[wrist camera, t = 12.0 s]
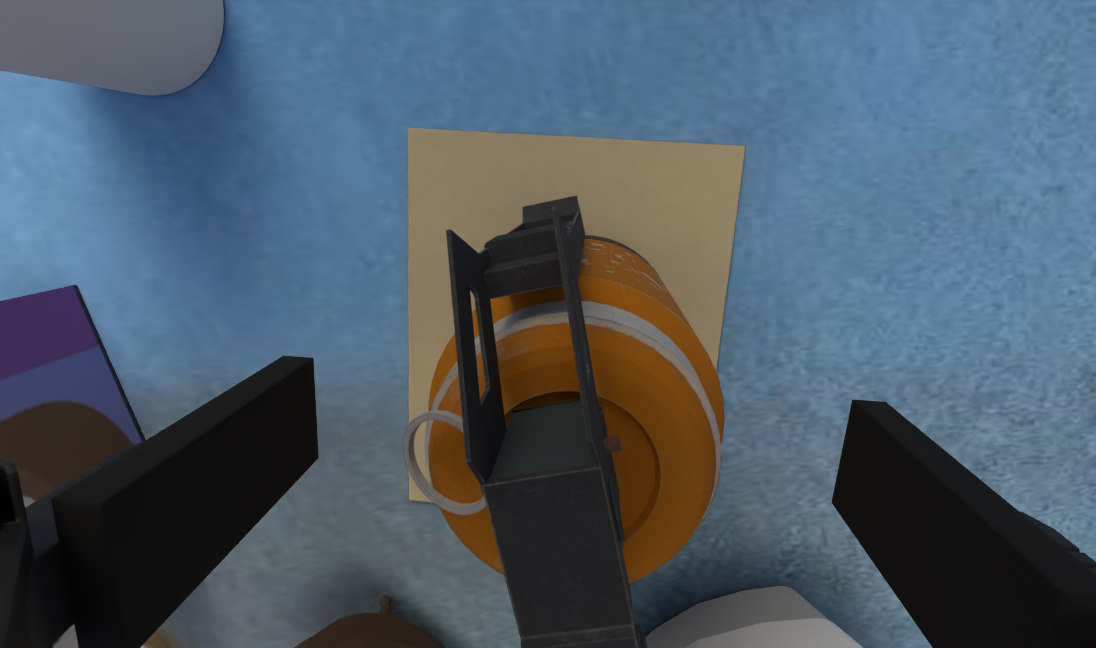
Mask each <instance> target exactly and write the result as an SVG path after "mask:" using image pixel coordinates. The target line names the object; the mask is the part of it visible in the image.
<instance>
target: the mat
mask: <svg viewBox="0 0 1096 648" xmlns="http://www.w3.org/2000/svg"><path fill="white" fill-rule="evenodd" d="M745 148H746V146H739V145H720V144H701V143H682V142H663V141H644V140H625V139H606V138H587V137H568V136H549V135H530V134H511V133H492V132H473V131H454V130H435V129H416V128H408V346H409V424H410V422H411V421H412V420H413V419H415V418H416V417H418V416H420V415H422V414H423V413H425V412H428V402H429V395H430V388H431V382H432V379H433V376H434V372H435V369H436V366H437V363H438V361H439V359H440V357H441V355H442V353H443V351H444V349H445V347H446V345H447V343H448V342H449V340H450V339H451V338H452V336H453V335H454V334H455V329H454V318H453V306H452V295H451V283H450V271H449V260H448V248H447V237H446V230H449V229H451V230H452V231H453V232H454V233H456V234H457V235H458V236H459V237H460V238H461V239H463V240H464V241H465V242H466V243H467V244H468V245H470V246H471V247H472V248H473V249H474V250H475V251H477V252H478V253H479V252H480V251H482V250H483V249H484V244H485V243H486V242H488V241H489V240H491V239H493V238H494V237H496V236H499V235H503V234H507V233H509V232H510V231H512V230H513V229H514V228H516V227H517V226H519V225H520V224H522V207H524V206H529V205H534V204H538V203H543V202H548V201H552V200H557V199H562V198H567V197H571V196H576V195H577V198H578V203H579V207H580V212H581V216H582V221H583V225H584V230H585V235H594V236H599V237H604V238H608V239H611V240H614V241H617V242H619V243H622V244H624V245H625V246H627V247H629V248H631V249H632V250H634V251H636V252H637V253H638V254H639V255H641V256H642V257H643V258H644V259H646V261H647V262H648V263H649V264H650V265H651V266H652V267H653V268H654V269H655V270H656V272H657V274H658V275H659V277H660V278H661V280H662V281H663V283H664V284H665V286H666V288H667V289H668V291H669V292H670V294H671V296H672V297H673V299H674V300H675V302H676V304H677V305H678V307H679V308H680V310H681V311H682V313H683V315H684V316H685V318H686V319H687V321H688V323H689V324H690V326H691V327H692V329H693V331H694V332H695V334H696V335H697V337H698V339H699V340H700V342H701V343H702V345H703V346H704V348H705V350H706V351H707V353H708V354H709V357H710V359H711V361H712V364H713V366H714V368H715V371H716V368H717V361H718V353H719V346H720V338H721V330H722V323H723V315H724V308H725V300H726V292H727V285H728V277H729V269H730V262H731V254H732V247H733V239H734V231H735V224H736V216H737V209H738V201H739V193H740V186H741V178H742V170H743V163H744V155H745ZM470 294H471V305H472V312H473V311H474V310H475V309H476V308H475V300H474V296H473V294H472V292H471V291H470ZM426 428H427V421H425V422H423V423H422V424H421V425H420V426H419V427H418V429H417V431H416V434H415V438H414V453H415V457H416V461H417V463H418V466H419V468H420V470H421V472H422V474H423V475H424V477H425V478H426V480H427V481H428V482H429V478H428V473H427V467H426V462H425V434H426ZM429 484H430V482H429ZM409 500H414V501H425V502H432V501H431V500H430V499H428V498H427V497H426V496H425V495H424V494H423V493H422V491H421V490H420V489H419V488H418V486H417V485H416V484H415V482H414V480H413V479H412V477H411V475H410V473H409Z"/></svg>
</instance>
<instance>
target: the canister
mask: <svg viewBox="0 0 1096 648" xmlns="http://www.w3.org/2000/svg"><path fill="white" fill-rule="evenodd" d="M446 237H447V248H448V260H449V271H450V283H451V295H452V306H453V318H454V329H455V334H454V335H453V336H452V338H451V339H450V340H449V342H448V343H447V345H446V347H445V349H444V351H443V353H442V355H441V357H440V359H439V361H438V363H437V366H436V369H435V372H434V376H433V379H432V382H431V388H430V395H429V402H428V412H425V413H423V414H422V415H420V416H418V417H416V418H415V419H413V420H412V421H411V422H410V424H409V425H408V427H407V428H406V431H405V433H404V438H403V454H404V459H405V463H406V466H407V468H408V471H409V473H410V475H411V477H412V479H413V480H414V482H415V484H416V485H417V486H418V488H419V489H420V490H421V491H422V493H423V494H424V495H425V496H426V497H427V498H428V499H430V500H431V501H432V502H433V503H434V504H436V505H437V506H439V507H440V510H441V512H442V513H443V515H444V517H445V519H446V520H447V522H448V524H449V526H450V528H451V529H452V530H453V531H454V533H455V534H456V535H457V537H458V538H459V539H460V540H461V542H462V543H463V544H464V545H465V546H466V547H467V548H468V549H469V550H470V551H471V552H472V553H473V554H474V555H475V556H477V557H478V558H479V559H480V560H482V561H483V562H485V563H486V564H487V565H489V566H490V567H492V568H493V569H494V570H496V571H498V572H500V573H502V574H504V576H505V580H506V584H507V587H508V591H509V595H510V599H511V603H512V607H513V611H514V615H515V618H516V622H517V626H518V630H519V634H520V638H521V648H647V642H646V637H645V634H641V630H640V626H639V625H635V624H634V619H633V612H632V601H631V590H630V585H629V583H630V582H633V581H636V580H638V579H640V578H642V577H644V576H646V575H648V574H649V573H651V572H653V571H655V570H656V569H658V568H659V567H661V566H662V565H663V564H665V563H666V562H667V561H669V560H670V559H671V558H673V556H674V555H675V554H676V553H677V552H678V551H679V550H680V549H681V548H682V547H683V546H684V545H685V544H686V543H687V542H688V540H689V539H690V538H691V536H692V535H693V534H694V532H695V531H696V529H697V528H698V527H699V525H700V524H701V522H702V521H703V520H704V518H705V516H706V514H707V512H708V510H709V507H710V505H711V503H712V501H713V499H714V495H715V492H716V489H717V485H718V482H719V477H720V467H721V458H722V457H721V444H722V438H723V428H724V405H723V396H722V391H721V387H720V383H719V379H718V375H717V373H716V371H715V368H714V366H713V364H712V361H711V359H710V357H709V354H708V353H707V351H706V350H705V348H704V346H703V345H702V343H701V342H700V340H699V339H698V337H697V335H696V334H695V332H694V331H693V329H692V327H691V326H690V324H689V323H688V321H687V319H686V318H685V316H684V315H683V313H682V311H681V310H680V308H679V307H678V305H677V304H676V302H675V300H674V299H673V297H672V296H671V294H670V292H669V291H668V289H667V288H666V286H665V284H664V283H663V281H662V280H661V278H660V277H659V275H658V274H657V272H656V270H655V269H654V268H653V267H652V266H651V265H650V264H649V263H648V262H647V261H646V259H644V258H643V257H642V256H641V255H639V254H638V253H637V252H636V251H634V250H632V249H631V248H629V247H627V246H625V245H624V244H622V243H619V242H617V241H614V240H611V239H608V238H604V237H599V236H594V235H585V230H584V225H583V221H582V216H581V212H580V207H579V203H578V198H577V195H576V196H571V197H567V198H562V199H557V200H552V201H548V202H543V203H538V204H534V205H529V206H524V207H522V224H520V225H519V226H517V227H516V228H514V229H513V230H512V231H510V232H509V233H507V234H503V235H499V236H496V237H494V238H493V239H491V240H489V241H488V242H486V243H485V244H484V249H483V250H482V251H480V252H479V253H478V252H477V251H475V250H474V249H473V248H472V247H471V246H470V245H468V244H467V243H466V242H465V241H464V240H463V239H461V238H460V237H459V236H458V235H457V234H456V233H454V232H453V231H452V230H451V229H449V230H446ZM470 291H471V292H472V294H473V296H474V300H475V308H476V309H475V310H474V311H473V312H472V305H471V294H470ZM425 421H427V428H426V434H425V462H426V467H427V473H428V478H429V482H430V484H429V482H428V481H427V480H426V478H425V477H424V475H423V474H422V472H421V470H420V468H419V466H418V463H417V461H416V457H415V453H414V438H415V434H416V431H417V429H418V427H419V426H420V425H421V424H422V423H423V422H425Z"/></svg>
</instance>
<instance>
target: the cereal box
mask: <svg viewBox="0 0 1096 648" xmlns="http://www.w3.org/2000/svg"><path fill="white" fill-rule="evenodd" d="M143 441H145V439H144V437H143V435H142V433H141V430H140V428H139V426H138V424H137V421H136V419H135V417H134V415H133V412H132V410H131V408H130V406H129V403H128V401H127V399H126V397H125V394H124V392H123V390H122V388H121V385H120V383H119V381H118V379H117V376H116V374H115V372H114V370H113V367H112V365H111V363H110V361H109V358H108V356H107V354H106V352H105V349H104V347H103V345H102V342H101V340H100V338H99V336H98V333H97V331H96V329H95V327H94V324H93V322H92V320H91V318H90V315H89V313H88V311H87V309H86V306H85V304H84V302H83V300H82V297H81V295H80V293H79V291H78V288H77V286H76V285H73V286H69V287H64V288H59V289H55V290H50V291H46V292H41V293H36V294H32V295H27V296H22V297H18V298H13V299H9V300H4V301H0V460H4V461H7V462H10V463H13V464H15V466H16V468H17V470H18V475H19V480H20V485H21V490H22V495H23V500H24V505H25V507H27V506H29V505H30V504H32V503H34V502H35V501H37V500H39V499H40V498H42V497H43V496H45V495H47V494H48V493H50V492H52V491H53V490H55V489H57V488H58V487H60V486H62V485H63V484H65V483H67V482H68V481H70V480H72V479H73V478H79V477H80V474H82V473H83V472H85V471H87V470H88V469H90V468H92V467H93V466H98V465H99V463H100V462H102V461H103V460H105V459H107V458H108V457H110V456H111V455H113V454H115V453H116V452H118V451H120V450H121V449H124V448H127V447H129V446H132V445H135V444H137V443H140V442H143ZM52 644H53V648H79V647H78V641H77V636H76V631H75V625H72V626H71V627H70V628H69V629H68V630H67V631H66V632H65V633H63V634H62V635H61V636H60V637H59V638H58V639H57V640H55V641H54V642H53V643H52Z"/></svg>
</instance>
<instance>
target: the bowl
mask: <svg viewBox="0 0 1096 648" xmlns="http://www.w3.org/2000/svg"><path fill="white" fill-rule="evenodd" d="M646 642H647V648H863V647H862V646H861V645H860V644H859V643H857V642H856V641H855V640H854V639H852V638H851V637H850V636H849V635H848V634H846V633H845V632H844V631H843V630H842V629H840V628H839V627H838V626H837V625H836V624H834V623H833V622H831V621H830V620H829V619H827V618H826V617H825V616H824V615H823V614H822V613H820V612H819V611H818V610H817V609H816V608H815V607H814V606H812V605H811V604H810V603H809V602H808V601H807V600H806V599H804V598H803V597H802V596H801V595H800V594H799V593H798V592H796V591H795V590H794V589H791V588H789V587H786V586H774V587H767V588H759V589H751V590H744V591H740V592H737V593H733V594H730V595H726V596H723V597H719V598H715V599H712V600H708V601H705V602H701V603H698V604H696V605H694V606H693V607H691V608H689V609H687V610H686V611H684V612H682V613H680V614H679V615H677V616H675V617H673V618H672V619H670V620H668V621H667V622H665V623H663V624H661V625H660V626H658V627H657V628H656V629H655V630H653V631H652V632H651V633H650V634H649V635H647V636H646Z"/></svg>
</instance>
